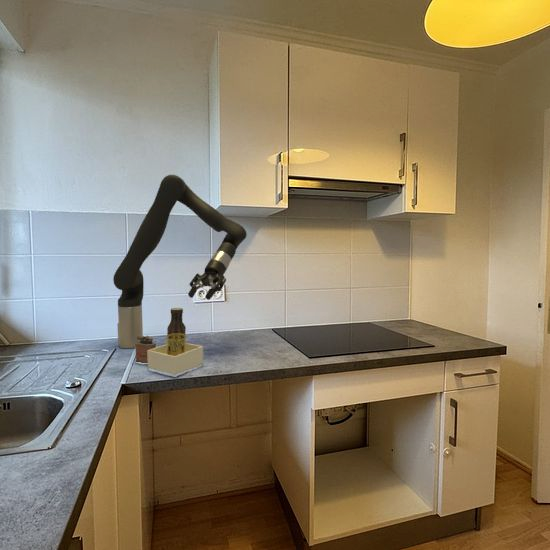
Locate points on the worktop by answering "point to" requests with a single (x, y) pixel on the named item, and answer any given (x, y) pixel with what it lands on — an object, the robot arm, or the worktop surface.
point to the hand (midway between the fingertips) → (198, 297)
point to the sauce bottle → (176, 333)
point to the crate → (175, 359)
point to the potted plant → (143, 348)
